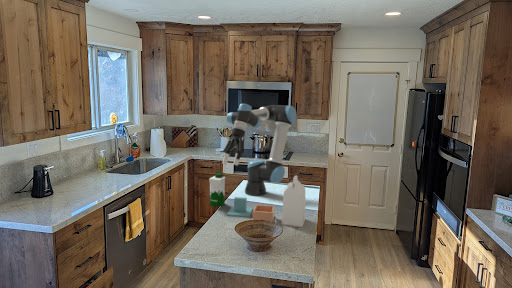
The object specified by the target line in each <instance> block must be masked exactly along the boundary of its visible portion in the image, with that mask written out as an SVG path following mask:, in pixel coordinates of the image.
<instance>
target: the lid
mask: <svg viewBox="0 0 512 288" xmlns="http://www.w3.org/2000/svg"><path fill="white" fill-rule="evenodd" d="M233 199H234V200H233V201H234V202H233V206H230V207H231V209H230V210H229V212H228V214H227V215H229V216H243V217H250V214H251V212H252V210H253V209H254V207H247V204H248V203H247V201H248V198H247V197H240V196H239V197H238V196H234V198H233Z"/></svg>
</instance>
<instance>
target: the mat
mask: <svg viewBox="0 0 512 288" xmlns="http://www.w3.org/2000/svg"><path fill="white" fill-rule="evenodd" d="M231 207H232V206H230V207H229V208H228V210H227V211H226V212H225V214H224V217H229V218H243V219H253V210H254V208H253V210H252V212H251V214H250V217H243V216H229V215H227V214H228V212H229V210H230V209H231Z"/></svg>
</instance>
